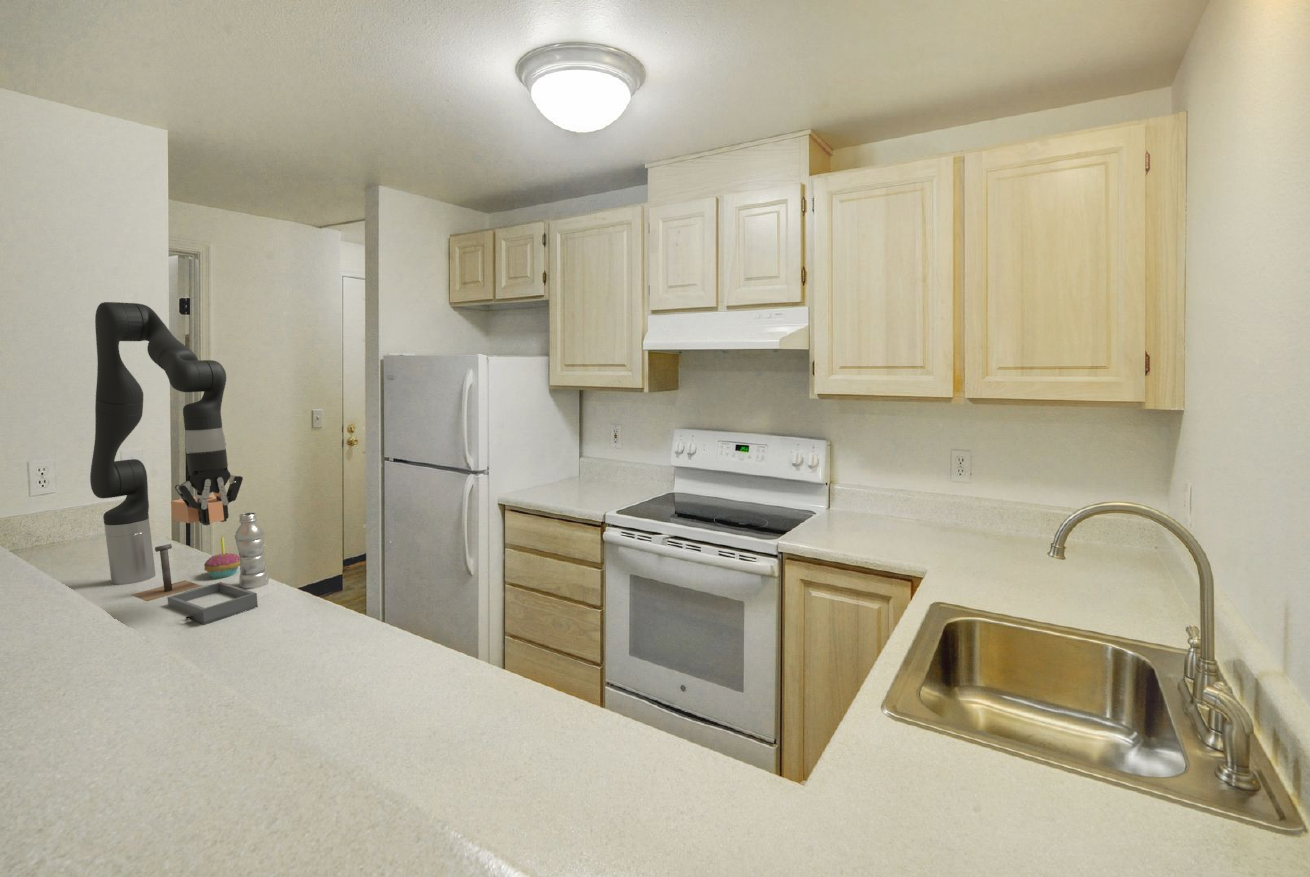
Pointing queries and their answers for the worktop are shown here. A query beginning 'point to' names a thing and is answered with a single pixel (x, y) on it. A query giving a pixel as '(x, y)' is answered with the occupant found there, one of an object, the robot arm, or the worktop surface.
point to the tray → (217, 611)
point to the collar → (191, 514)
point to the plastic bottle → (251, 552)
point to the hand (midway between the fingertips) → (214, 522)
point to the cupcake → (222, 564)
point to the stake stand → (165, 580)
